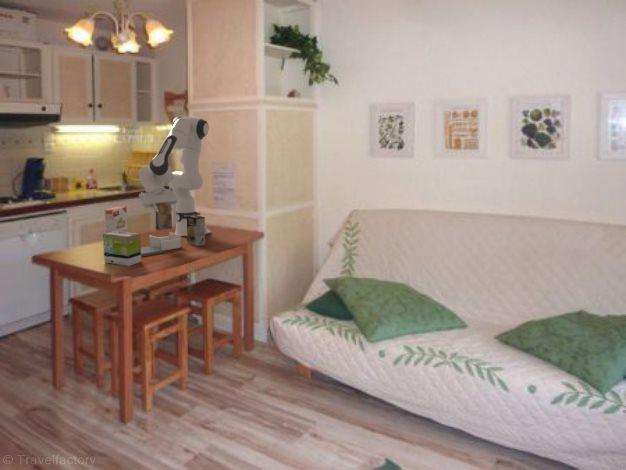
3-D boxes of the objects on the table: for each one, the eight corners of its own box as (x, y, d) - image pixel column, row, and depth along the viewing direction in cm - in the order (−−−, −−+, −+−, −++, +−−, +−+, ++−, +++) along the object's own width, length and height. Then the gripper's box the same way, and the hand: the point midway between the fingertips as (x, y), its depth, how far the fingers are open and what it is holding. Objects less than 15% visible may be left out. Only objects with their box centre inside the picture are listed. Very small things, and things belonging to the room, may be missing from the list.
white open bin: (170, 244, 315) (170, 232, 314) (181, 247, 307) (181, 235, 306) (149, 247, 306) (149, 235, 304) (160, 251, 298) (159, 238, 297)
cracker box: (115, 247, 306) (113, 209, 302) (105, 246, 307) (103, 209, 303) (128, 242, 319) (126, 206, 316) (119, 241, 321) (117, 206, 317)
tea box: (103, 263, 270) (101, 233, 268) (117, 258, 280) (116, 230, 277) (128, 266, 265) (127, 236, 262) (142, 261, 274) (140, 232, 271)
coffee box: (187, 243, 318) (186, 215, 315) (196, 242, 322) (195, 214, 319) (196, 246, 312) (195, 217, 308) (205, 244, 316) (205, 216, 313)
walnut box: (168, 227, 308) (167, 202, 305) (172, 228, 305) (170, 203, 302) (158, 228, 304) (157, 203, 301) (162, 229, 301) (161, 204, 298)
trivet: (149, 248, 303) (149, 246, 303) (163, 253, 293) (163, 250, 293) (125, 252, 293) (125, 249, 293) (138, 257, 283) (138, 254, 283)
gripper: (139, 189, 298) (149, 209, 293) (172, 186, 312) (183, 205, 307) (135, 196, 302) (145, 216, 297) (169, 193, 316) (179, 212, 311)
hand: (165, 210), depth 302 cm, fingers closed on walnut box, 6 cm apart
